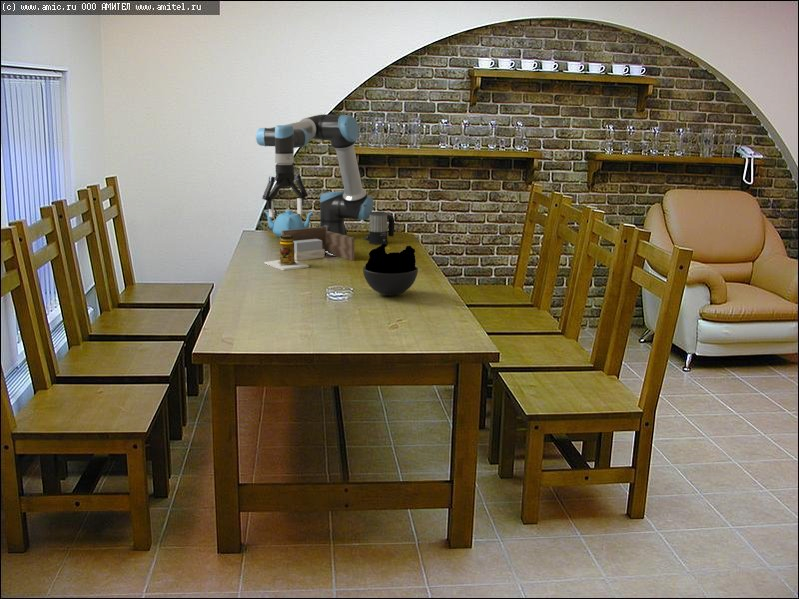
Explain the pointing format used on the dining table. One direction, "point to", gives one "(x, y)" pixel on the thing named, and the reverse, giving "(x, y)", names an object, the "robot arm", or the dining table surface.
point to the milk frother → (380, 228)
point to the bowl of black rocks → (390, 270)
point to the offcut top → (307, 245)
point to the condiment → (287, 250)
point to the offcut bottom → (309, 255)
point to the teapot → (287, 222)
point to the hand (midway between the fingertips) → (285, 215)
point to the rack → (326, 240)
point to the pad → (286, 267)
